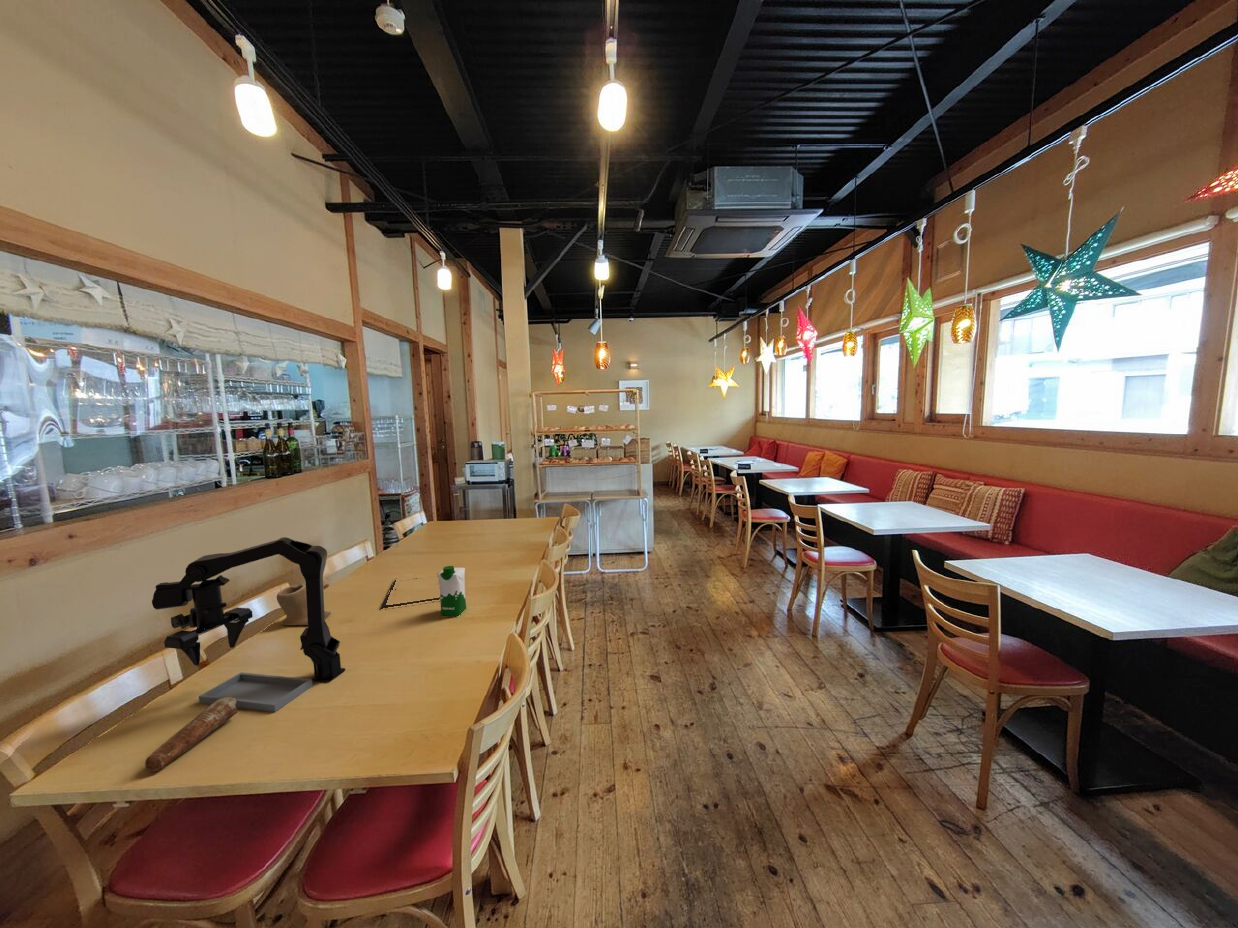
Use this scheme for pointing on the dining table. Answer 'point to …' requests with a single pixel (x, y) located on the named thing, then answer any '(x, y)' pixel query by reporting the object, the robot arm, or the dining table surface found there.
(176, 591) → the robot arm
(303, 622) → the stone cup
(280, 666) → the dining table surface
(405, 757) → the dining table surface
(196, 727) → the brown tapered rod
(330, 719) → the dining table surface
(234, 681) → the serving tray
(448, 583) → the milk carton
